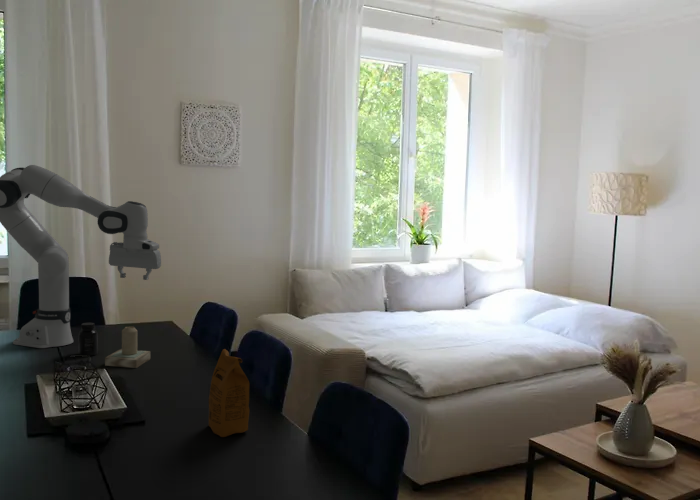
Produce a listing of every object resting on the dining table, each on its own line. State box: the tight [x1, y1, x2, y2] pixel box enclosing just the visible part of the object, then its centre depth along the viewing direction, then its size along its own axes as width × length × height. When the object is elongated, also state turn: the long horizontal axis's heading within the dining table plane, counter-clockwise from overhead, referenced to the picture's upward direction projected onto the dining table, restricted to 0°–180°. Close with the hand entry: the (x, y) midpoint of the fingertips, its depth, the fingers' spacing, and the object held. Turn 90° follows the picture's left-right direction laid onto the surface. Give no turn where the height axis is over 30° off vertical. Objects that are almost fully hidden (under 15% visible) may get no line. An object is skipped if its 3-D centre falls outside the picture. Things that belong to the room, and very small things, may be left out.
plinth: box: [104, 348, 151, 369], centre depth 243 cm, size 12×12×3 cm
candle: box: [121, 325, 138, 355], centre depth 243 cm, size 6×6×10 cm
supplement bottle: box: [78, 322, 99, 357], centre depth 251 cm, size 7×7×12 cm
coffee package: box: [208, 348, 250, 438], centre depth 183 cm, size 10×12×22 cm
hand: (134, 278), depth 255 cm, fingers open, 8 cm apart
